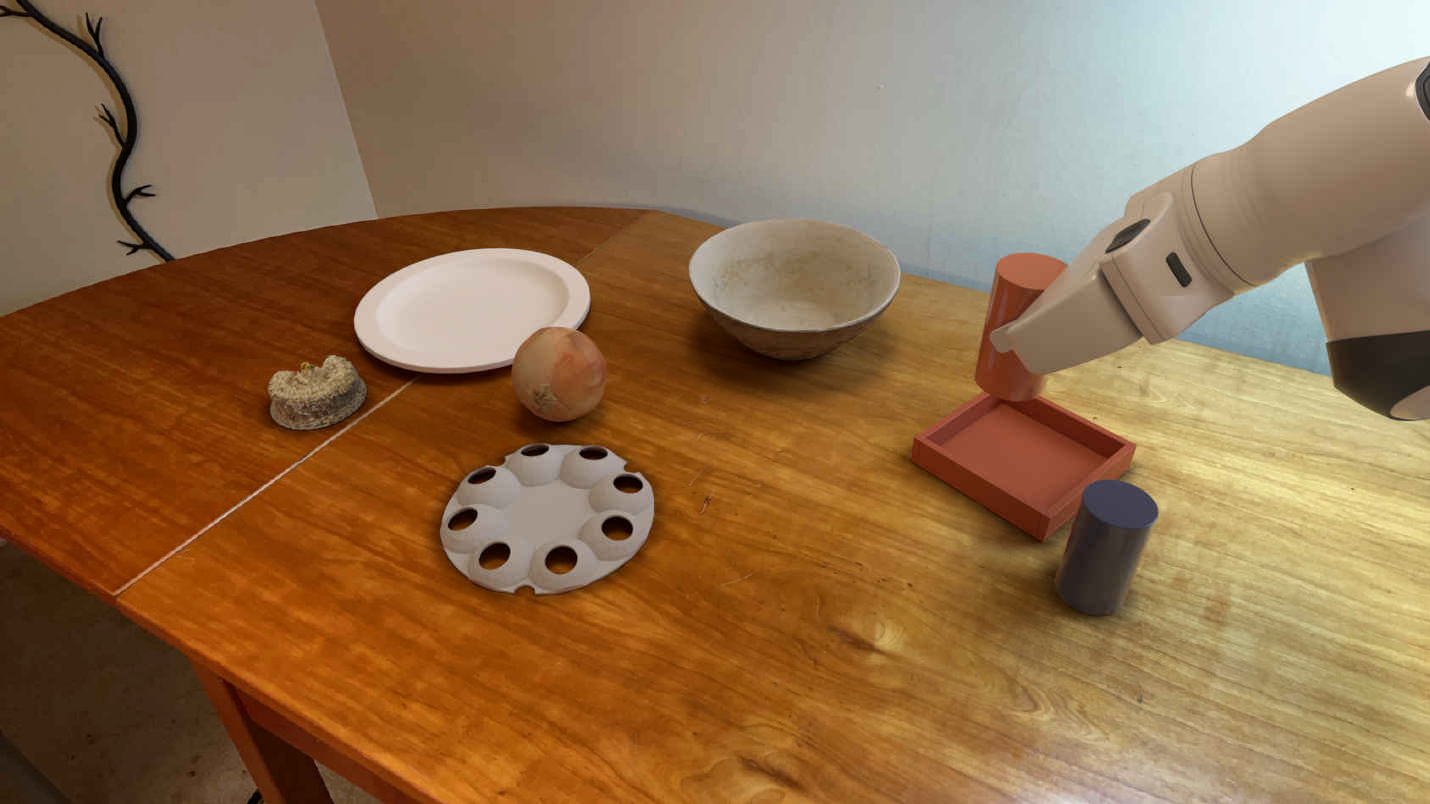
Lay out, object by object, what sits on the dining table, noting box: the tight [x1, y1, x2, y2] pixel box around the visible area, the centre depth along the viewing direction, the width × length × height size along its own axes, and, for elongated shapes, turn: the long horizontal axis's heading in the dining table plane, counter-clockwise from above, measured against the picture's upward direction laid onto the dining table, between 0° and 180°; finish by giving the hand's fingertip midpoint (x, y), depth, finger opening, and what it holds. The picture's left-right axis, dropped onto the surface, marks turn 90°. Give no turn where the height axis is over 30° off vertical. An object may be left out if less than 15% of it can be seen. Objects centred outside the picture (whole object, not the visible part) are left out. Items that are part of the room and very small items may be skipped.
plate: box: [353, 247, 591, 374], centre depth 111 cm, size 28×28×2 cm
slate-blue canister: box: [1054, 479, 1160, 616], centre depth 73 cm, size 6×6×10 cm
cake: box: [267, 354, 368, 431], centre depth 97 cm, size 10×10×5 cm
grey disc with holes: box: [439, 442, 655, 596], centre depth 84 cm, size 20×20×2 cm
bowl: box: [688, 218, 902, 362], centre depth 105 cm, size 24×24×10 cm
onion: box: [511, 327, 607, 423], centre depth 94 cm, size 10×10×10 cm
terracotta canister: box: [973, 252, 1069, 401], centre depth 70 cm, size 6×6×10 cm
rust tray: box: [910, 390, 1138, 543], centre depth 88 cm, size 15×15×3 cm
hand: (1015, 321), depth 70 cm, fingers closed on terracotta canister, 5 cm apart
